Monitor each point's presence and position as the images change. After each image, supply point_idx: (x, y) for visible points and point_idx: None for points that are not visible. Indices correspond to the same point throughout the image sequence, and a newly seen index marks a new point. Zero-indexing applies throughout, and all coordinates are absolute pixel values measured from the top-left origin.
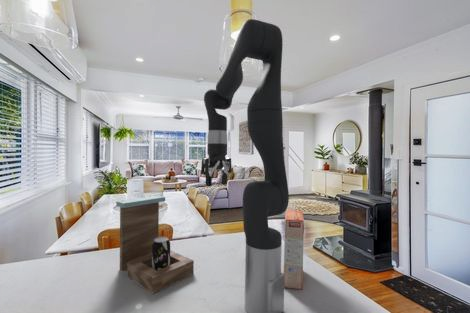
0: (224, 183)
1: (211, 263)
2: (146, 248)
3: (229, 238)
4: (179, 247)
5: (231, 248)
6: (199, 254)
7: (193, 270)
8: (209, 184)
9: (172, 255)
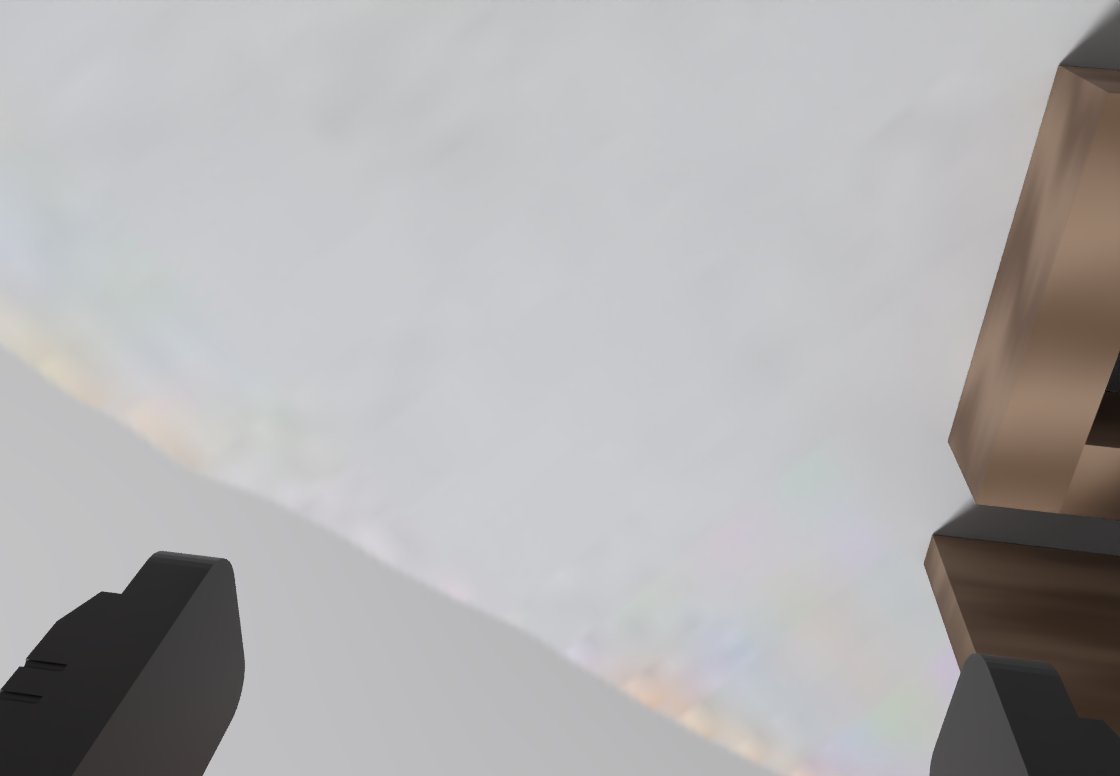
0: (221, 617)
1: (773, 69)
2: (1093, 627)
3: (154, 311)
4: (658, 541)
5: (345, 129)
6: (672, 302)
7: (1069, 72)
8: (1068, 729)
9: (1093, 354)
